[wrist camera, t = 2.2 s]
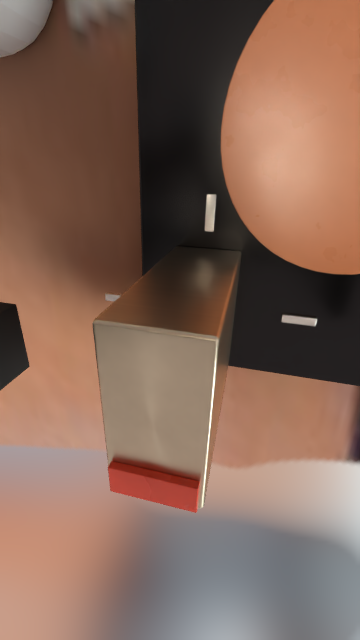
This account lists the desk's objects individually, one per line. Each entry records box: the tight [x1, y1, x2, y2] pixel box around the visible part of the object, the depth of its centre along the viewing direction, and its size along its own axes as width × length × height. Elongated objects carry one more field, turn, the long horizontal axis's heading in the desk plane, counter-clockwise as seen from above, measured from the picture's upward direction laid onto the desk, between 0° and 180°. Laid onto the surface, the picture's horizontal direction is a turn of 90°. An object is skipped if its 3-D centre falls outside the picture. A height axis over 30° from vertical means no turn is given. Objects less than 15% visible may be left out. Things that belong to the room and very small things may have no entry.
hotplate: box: [105, 0, 360, 386], centre depth 13 cm, size 18×15×3 cm
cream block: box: [93, 246, 241, 513], centre depth 11 cm, size 6×3×8 cm, turn 179°
